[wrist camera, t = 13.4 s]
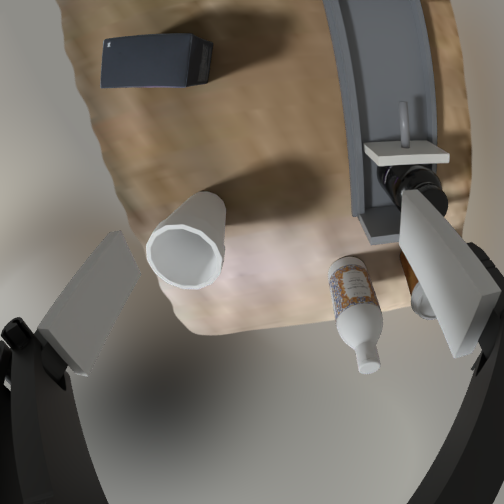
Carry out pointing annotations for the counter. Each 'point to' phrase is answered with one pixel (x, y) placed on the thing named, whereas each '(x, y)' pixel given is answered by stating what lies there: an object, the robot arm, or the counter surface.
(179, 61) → the small box
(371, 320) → the bath foam
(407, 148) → the pusher
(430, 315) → the disposable coffee cup
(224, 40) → the counter surface
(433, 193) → the supplement bottle
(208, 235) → the foam cup
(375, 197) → the tray
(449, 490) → the robot arm
